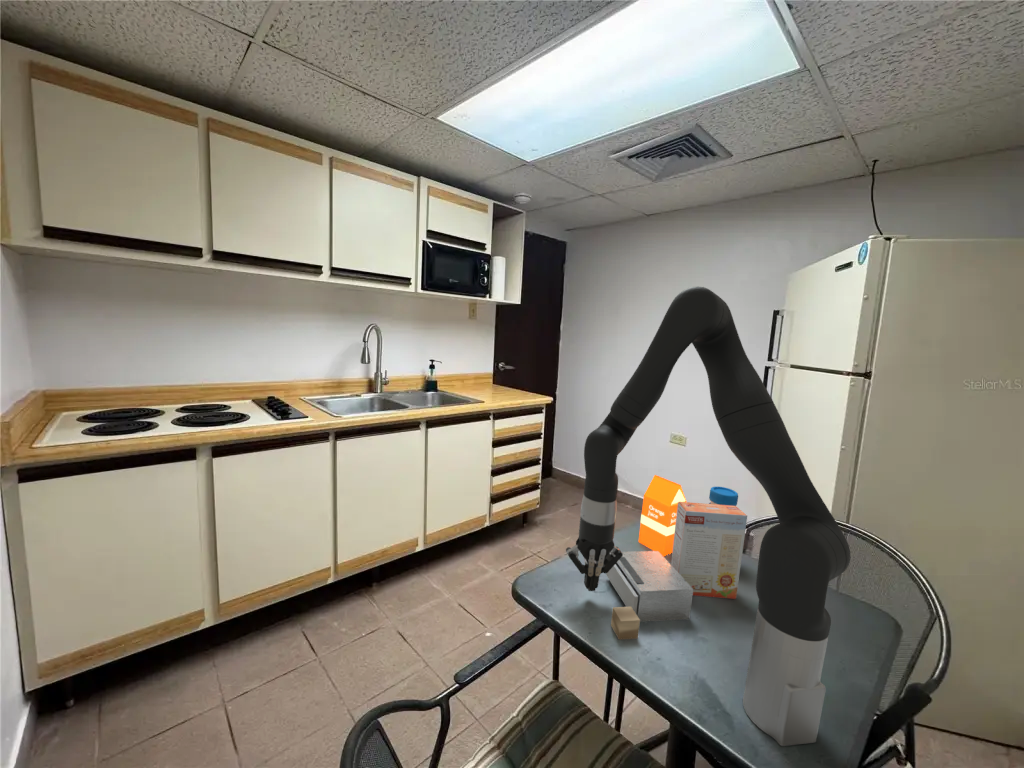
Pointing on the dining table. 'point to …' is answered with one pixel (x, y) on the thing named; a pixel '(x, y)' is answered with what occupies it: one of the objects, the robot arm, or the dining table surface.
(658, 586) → the block
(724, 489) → the beverage bottle
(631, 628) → the tan block
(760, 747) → the dining table surface
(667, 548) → the orange juice
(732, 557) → the cracker box
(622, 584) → the grey drawer
